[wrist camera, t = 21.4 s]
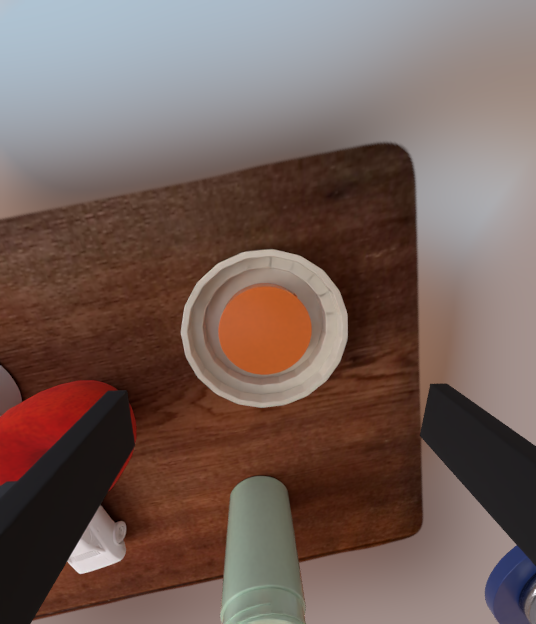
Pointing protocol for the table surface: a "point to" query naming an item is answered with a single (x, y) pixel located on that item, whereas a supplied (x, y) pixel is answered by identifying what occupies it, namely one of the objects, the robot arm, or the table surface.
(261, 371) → the lid
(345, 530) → the table surface
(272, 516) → the jar
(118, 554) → the toy car
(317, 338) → the dish
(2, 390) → the container
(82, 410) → the apple
